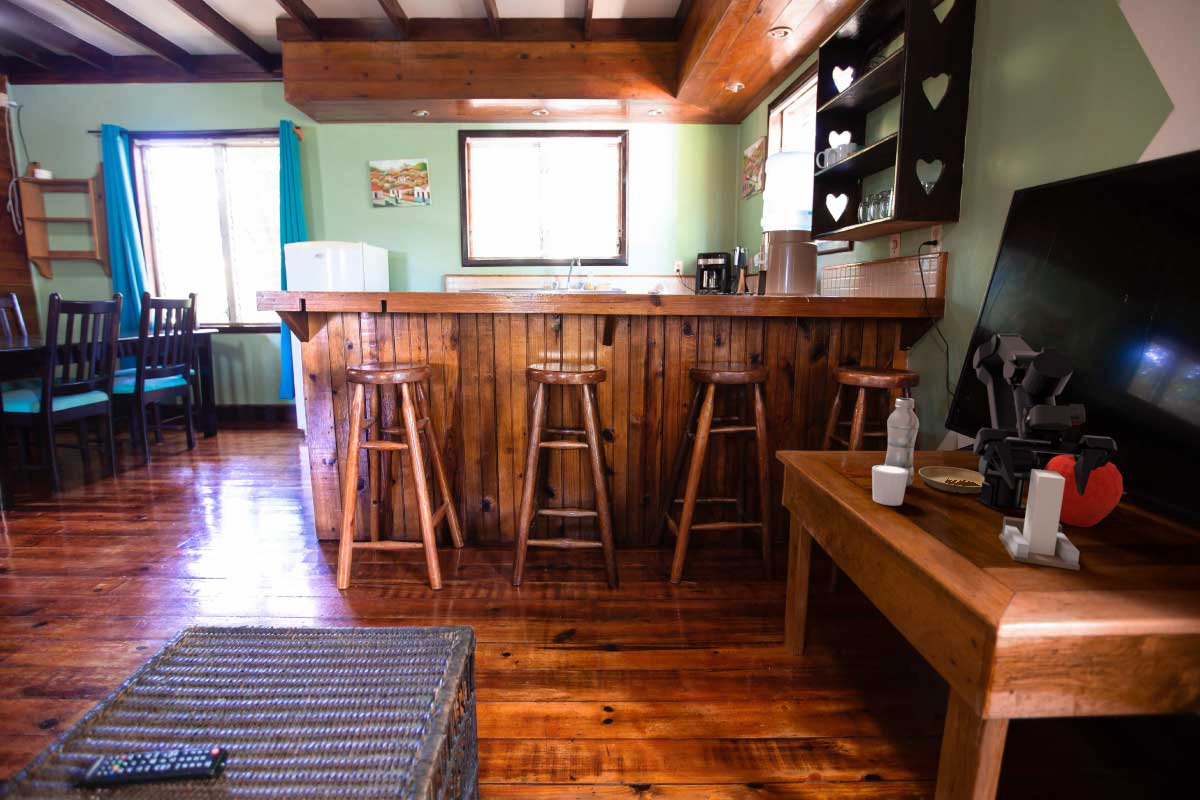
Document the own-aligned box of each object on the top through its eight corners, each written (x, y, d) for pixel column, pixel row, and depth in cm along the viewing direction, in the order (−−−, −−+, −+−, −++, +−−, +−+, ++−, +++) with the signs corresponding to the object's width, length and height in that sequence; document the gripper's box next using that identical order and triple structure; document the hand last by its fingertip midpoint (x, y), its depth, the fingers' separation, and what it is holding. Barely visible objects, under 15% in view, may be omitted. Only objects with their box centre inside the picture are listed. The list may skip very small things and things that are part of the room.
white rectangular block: (1021, 541, 98) (1031, 469, 96) (1046, 545, 97) (1056, 471, 95) (1028, 552, 95) (1039, 476, 92) (1053, 555, 93) (1065, 478, 91)
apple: (1095, 515, 113) (1105, 449, 111) (1132, 538, 102) (1144, 466, 100) (1026, 509, 116) (1034, 445, 114) (1054, 531, 105) (1064, 461, 103)
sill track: (999, 537, 102) (1001, 516, 102) (1058, 545, 99) (1061, 523, 98) (1013, 560, 93) (1016, 537, 93) (1079, 570, 90) (1082, 546, 89)
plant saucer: (1006, 499, 123) (1008, 487, 122) (932, 495, 125) (933, 484, 125) (974, 478, 137) (975, 467, 137) (908, 475, 139) (909, 465, 139)
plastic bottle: (902, 480, 135) (910, 396, 131) (919, 489, 128) (928, 401, 125) (875, 480, 135) (882, 396, 131) (891, 490, 128) (899, 401, 124)
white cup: (862, 497, 123) (864, 466, 122) (886, 493, 125) (889, 463, 124) (888, 508, 117) (891, 475, 115) (913, 504, 119) (916, 471, 118)
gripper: (984, 382, 99) (990, 460, 91) (1121, 388, 92) (1141, 474, 84) (970, 418, 108) (975, 492, 100) (1095, 426, 100) (1111, 507, 92)
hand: (1046, 491), depth 94 cm, fingers open, 9 cm apart
